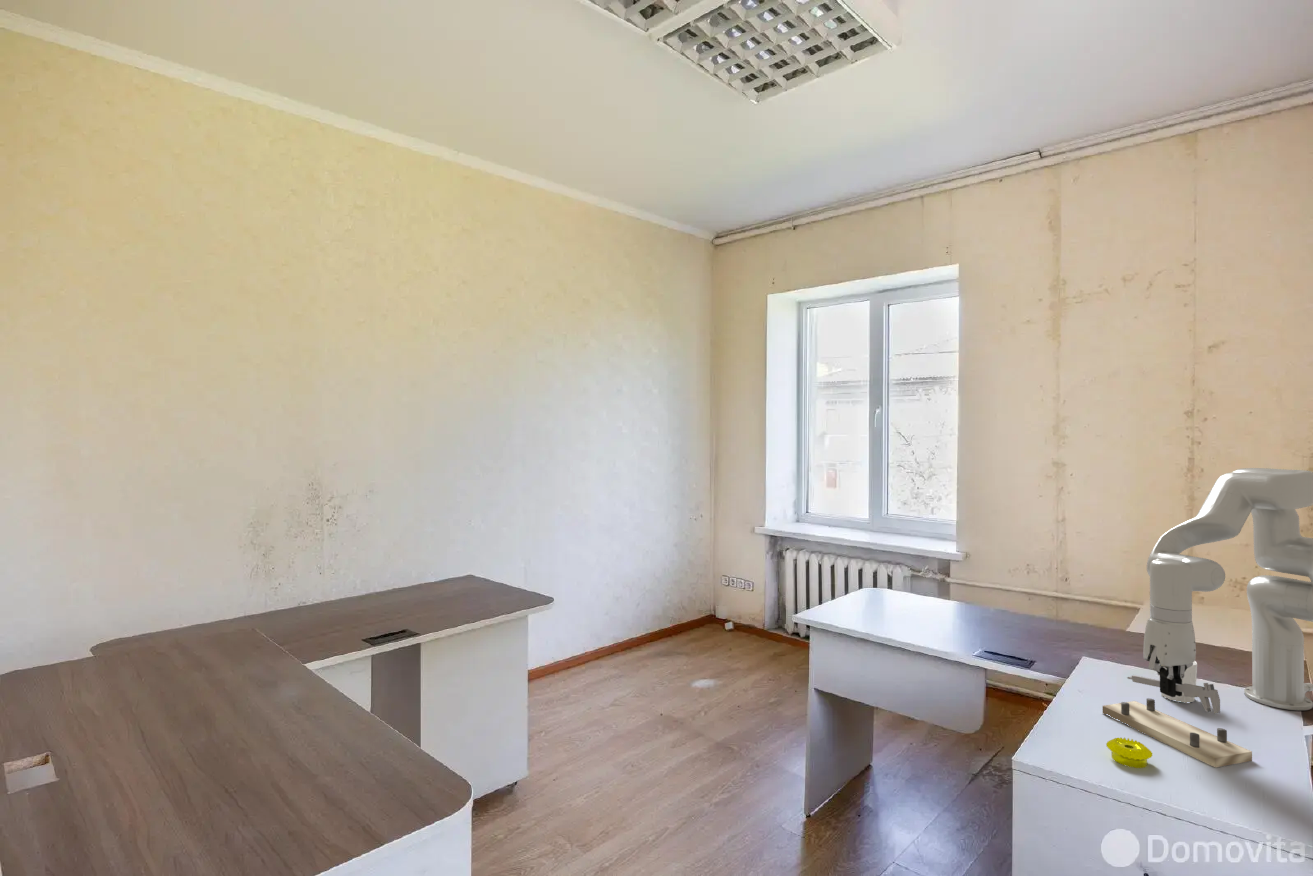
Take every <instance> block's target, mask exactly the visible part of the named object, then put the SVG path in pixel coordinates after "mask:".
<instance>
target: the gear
mask: <svg viewBox="0 0 1313 876" xmlns="http://www.w3.org/2000/svg"><path fill="white" fill-rule="evenodd" d="M1105 744H1106V747H1107V749H1109V750H1110V751H1111V759H1112V760H1113V761H1114V760H1115V761H1114V762H1116V763H1118V764H1119V765H1122V766H1125V765H1126V766H1125V767H1128V766H1129V767H1128V768H1133V767H1134V769H1143V768H1146V767H1147V766H1148V759H1151V758H1152V757H1153V752H1152V751H1151V750H1150V749H1149V748H1148V747H1147V746H1146V745H1144V744H1143V743H1141V742H1140V741H1137V740H1134V739H1133V738H1131V739H1130V738H1129V737H1128V738H1127V739H1126V737H1115V738H1112V739H1110V740H1108V741H1107V742H1106V743H1105Z"/></svg>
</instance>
